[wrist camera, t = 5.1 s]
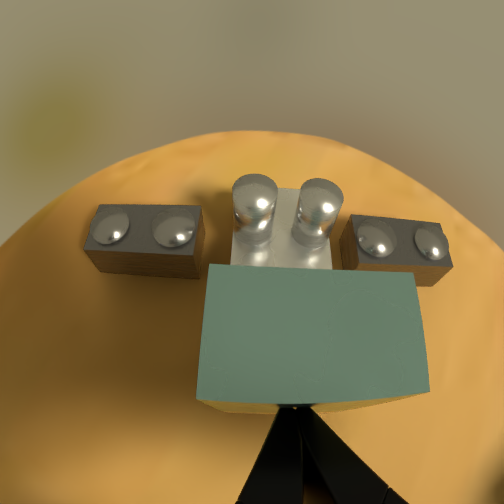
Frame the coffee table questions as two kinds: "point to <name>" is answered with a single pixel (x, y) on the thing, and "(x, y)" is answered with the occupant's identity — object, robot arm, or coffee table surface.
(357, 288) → the green-topped wooden block
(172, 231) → the grey brick
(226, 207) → the coffee table surface
